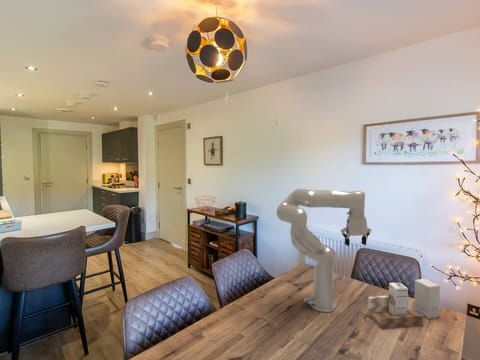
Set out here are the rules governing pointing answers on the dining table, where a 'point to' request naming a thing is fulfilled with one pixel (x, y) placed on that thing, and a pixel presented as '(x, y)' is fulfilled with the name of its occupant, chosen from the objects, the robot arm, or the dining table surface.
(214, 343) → the dining table surface
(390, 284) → the syrup box
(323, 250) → the robot arm
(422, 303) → the skincare box
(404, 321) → the cleat board
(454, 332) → the dining table surface
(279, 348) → the dining table surface
